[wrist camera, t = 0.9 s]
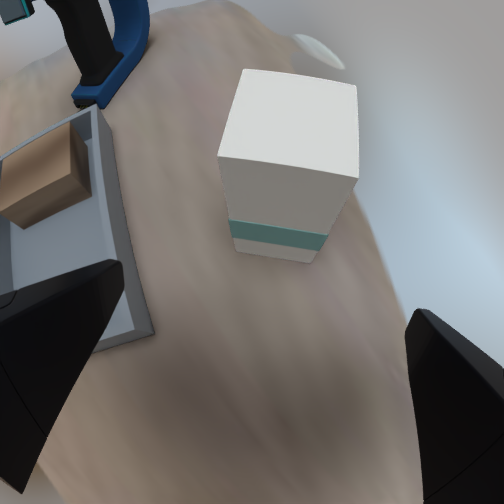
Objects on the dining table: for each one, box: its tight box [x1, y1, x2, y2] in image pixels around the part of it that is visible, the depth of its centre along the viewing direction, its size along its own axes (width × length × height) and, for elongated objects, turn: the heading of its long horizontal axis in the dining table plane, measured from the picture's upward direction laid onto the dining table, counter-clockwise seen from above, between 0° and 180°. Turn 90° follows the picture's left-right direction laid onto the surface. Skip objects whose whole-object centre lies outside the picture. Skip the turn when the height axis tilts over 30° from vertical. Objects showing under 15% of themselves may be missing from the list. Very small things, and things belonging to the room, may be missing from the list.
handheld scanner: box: [0, 0, 150, 109], centre depth 21 cm, size 4×16×19 cm, turn 164°
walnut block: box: [0, 121, 92, 230], centre depth 23 cm, size 6×8×4 cm
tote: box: [0, 104, 155, 353], centre depth 22 cm, size 20×13×4 cm, turn 20°
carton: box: [217, 69, 359, 264], centre depth 18 cm, size 6×6×12 cm
